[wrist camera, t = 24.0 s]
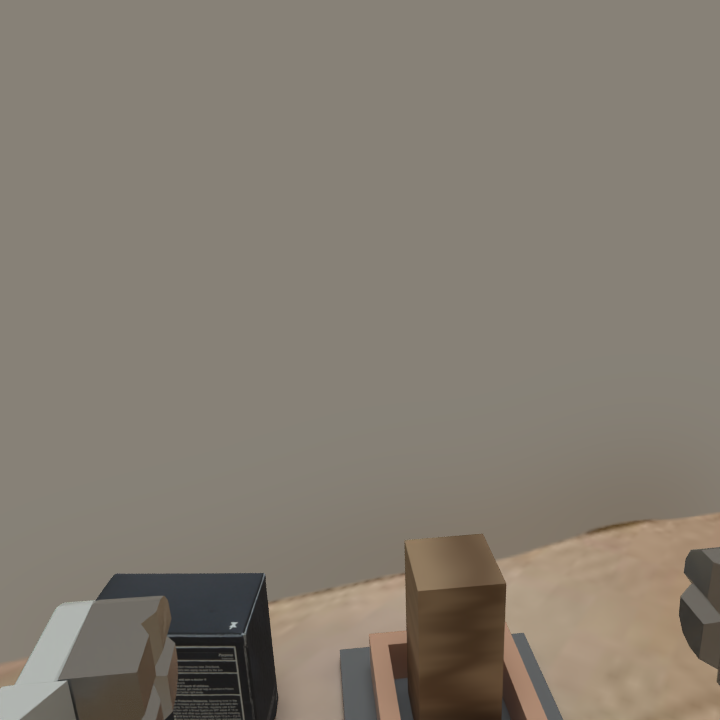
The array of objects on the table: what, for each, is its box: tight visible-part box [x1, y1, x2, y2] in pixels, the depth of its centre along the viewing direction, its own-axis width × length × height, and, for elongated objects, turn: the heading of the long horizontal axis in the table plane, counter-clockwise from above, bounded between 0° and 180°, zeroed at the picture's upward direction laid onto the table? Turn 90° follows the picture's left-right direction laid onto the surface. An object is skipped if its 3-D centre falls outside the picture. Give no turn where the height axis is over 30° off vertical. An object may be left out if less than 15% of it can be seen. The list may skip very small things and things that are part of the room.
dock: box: [340, 622, 563, 720], centre depth 42 cm, size 14×14×4 cm
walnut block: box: [405, 534, 506, 720], centre depth 41 cm, size 5×5×12 cm
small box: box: [95, 573, 278, 720], centre depth 42 cm, size 11×6×10 cm, turn 87°
